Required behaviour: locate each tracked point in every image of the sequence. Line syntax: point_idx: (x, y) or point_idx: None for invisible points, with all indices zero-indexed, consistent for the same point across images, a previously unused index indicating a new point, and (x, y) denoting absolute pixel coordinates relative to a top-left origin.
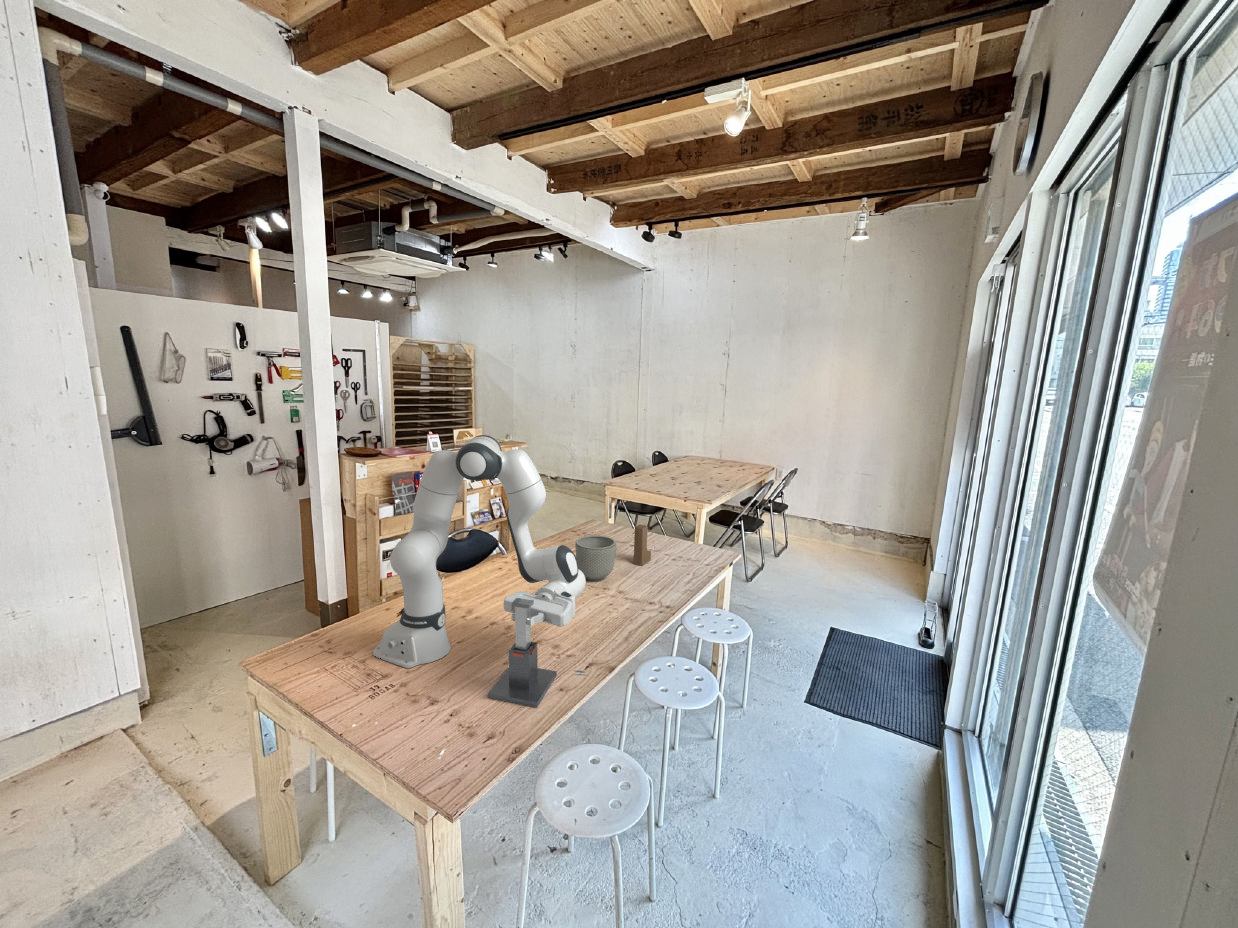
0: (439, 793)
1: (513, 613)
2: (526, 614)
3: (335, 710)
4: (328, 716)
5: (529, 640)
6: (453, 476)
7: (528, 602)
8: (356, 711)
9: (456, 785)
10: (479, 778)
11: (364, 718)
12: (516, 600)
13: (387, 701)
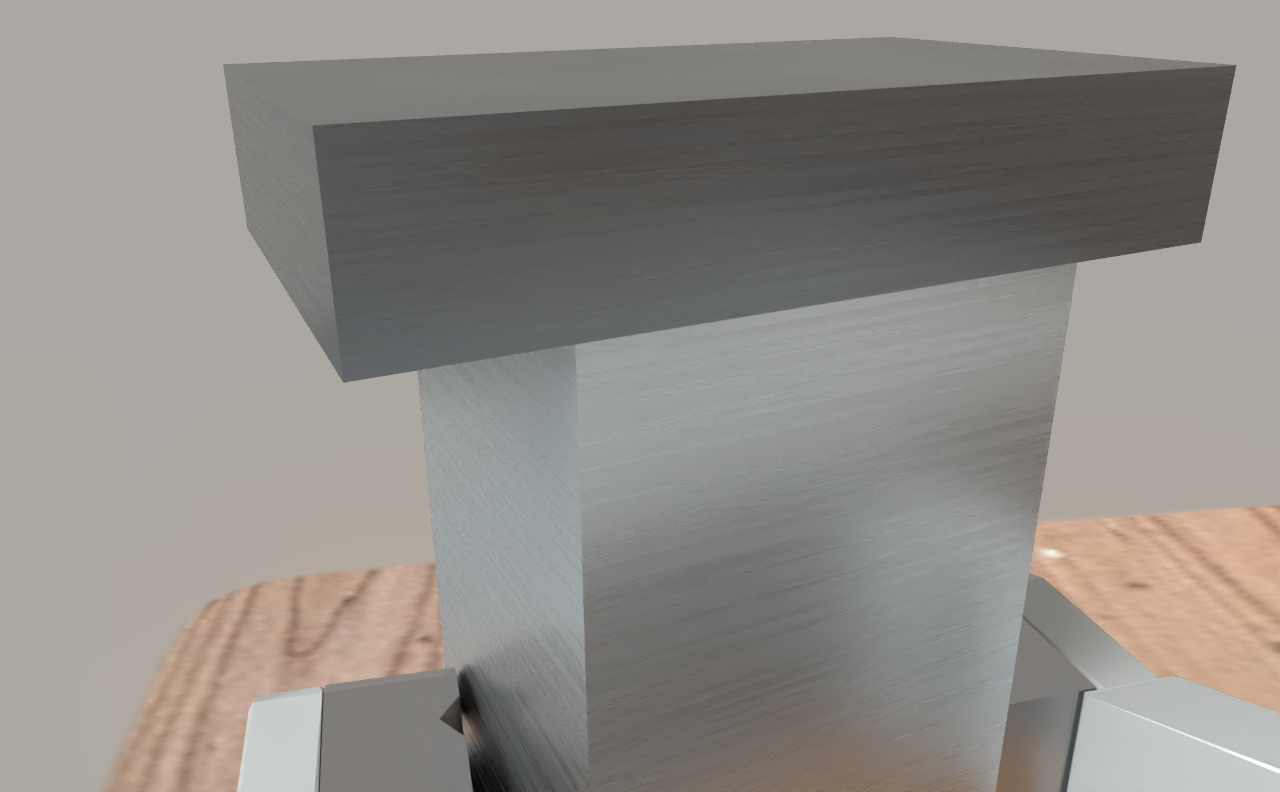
0: (328, 590)
1: (1070, 607)
2: (448, 511)
3: (1230, 543)
4: (1187, 522)
5: None
6: None
7: (420, 84)
8: (1173, 580)
9: (286, 635)
10: (197, 700)
11: (1083, 583)
12: (958, 53)
13: (1205, 676)
